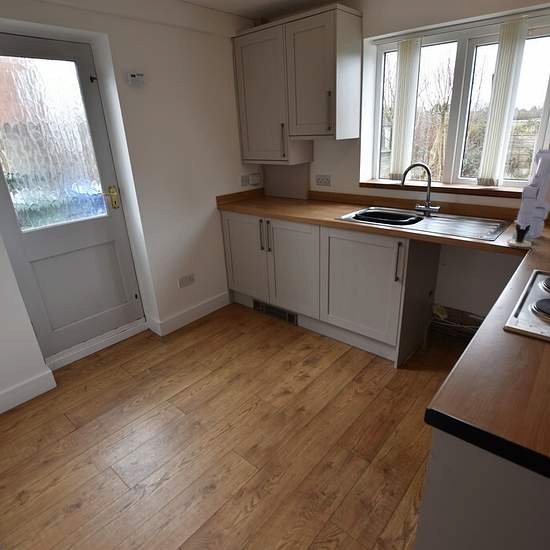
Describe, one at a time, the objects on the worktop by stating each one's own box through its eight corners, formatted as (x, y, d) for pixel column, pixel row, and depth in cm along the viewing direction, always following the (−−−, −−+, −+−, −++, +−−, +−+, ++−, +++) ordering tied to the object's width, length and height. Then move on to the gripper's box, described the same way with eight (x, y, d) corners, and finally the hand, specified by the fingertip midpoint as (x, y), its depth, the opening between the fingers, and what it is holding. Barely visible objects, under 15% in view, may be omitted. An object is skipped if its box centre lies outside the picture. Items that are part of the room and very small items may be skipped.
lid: (513, 239, 184) (515, 232, 182) (535, 244, 176) (537, 236, 174) (502, 242, 179) (504, 235, 177) (524, 248, 171) (526, 240, 170)
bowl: (517, 238, 191) (519, 229, 190) (533, 242, 185) (536, 233, 183) (508, 240, 188) (510, 232, 186) (525, 244, 181) (527, 235, 180)
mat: (513, 243, 183) (514, 242, 183) (531, 247, 177) (531, 246, 176) (504, 246, 179) (505, 245, 179) (522, 250, 173) (522, 249, 173)
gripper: (517, 208, 179) (510, 235, 184) (515, 214, 168) (508, 243, 173) (534, 210, 176) (527, 237, 181) (534, 216, 164) (526, 245, 170)
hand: (519, 240), depth 177 cm, fingers closed on lid, 4 cm apart
